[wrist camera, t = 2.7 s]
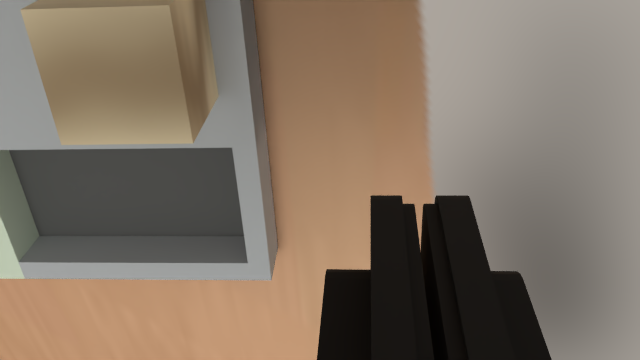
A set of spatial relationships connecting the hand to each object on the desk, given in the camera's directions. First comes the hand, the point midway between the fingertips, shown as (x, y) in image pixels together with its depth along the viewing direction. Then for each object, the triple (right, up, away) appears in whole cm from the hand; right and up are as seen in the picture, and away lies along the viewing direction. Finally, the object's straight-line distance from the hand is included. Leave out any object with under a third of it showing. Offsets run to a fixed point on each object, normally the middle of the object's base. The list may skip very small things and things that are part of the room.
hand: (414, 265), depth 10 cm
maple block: (-8, +7, +11) cm, 15 cm away
